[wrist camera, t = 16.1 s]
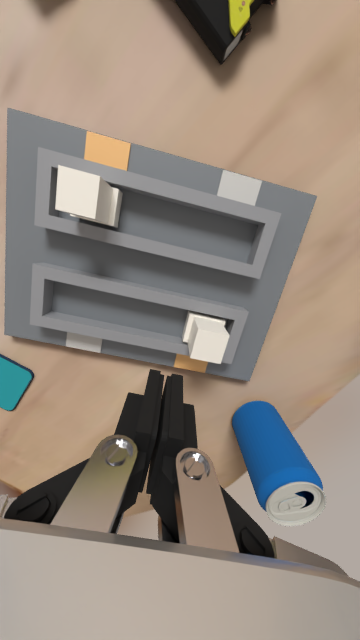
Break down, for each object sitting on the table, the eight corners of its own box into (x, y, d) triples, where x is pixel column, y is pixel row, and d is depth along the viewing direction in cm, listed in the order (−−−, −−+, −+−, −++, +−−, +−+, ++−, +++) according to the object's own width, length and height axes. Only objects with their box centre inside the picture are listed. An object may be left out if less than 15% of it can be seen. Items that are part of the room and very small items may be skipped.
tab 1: (122, 193, 23) (107, 176, 17) (117, 227, 24) (101, 222, 18) (80, 182, 22) (51, 161, 17) (77, 217, 23) (48, 208, 18)
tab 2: (222, 317, 27) (235, 335, 21) (214, 342, 28) (225, 365, 22) (188, 309, 27) (193, 326, 21) (182, 335, 27) (184, 358, 22)
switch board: (310, 198, 25) (329, 191, 22) (246, 376, 31) (254, 390, 28) (16, 114, 22) (-10, 93, 19) (11, 330, 28) (-9, 341, 25)
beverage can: (281, 425, 34) (337, 516, 22) (239, 440, 34) (273, 537, 23) (268, 390, 32) (322, 470, 21) (224, 407, 33) (252, 494, 21)
